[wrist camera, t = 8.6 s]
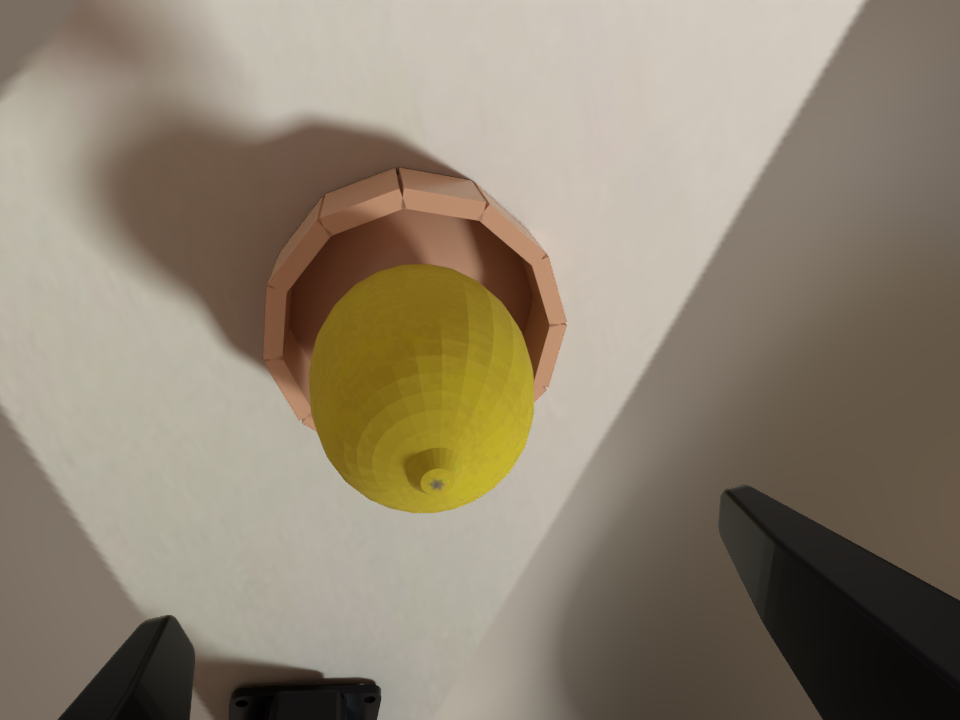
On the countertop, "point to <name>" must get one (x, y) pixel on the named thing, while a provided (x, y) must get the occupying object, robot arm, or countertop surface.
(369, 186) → the dish
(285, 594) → the countertop surface
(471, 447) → the lemon
